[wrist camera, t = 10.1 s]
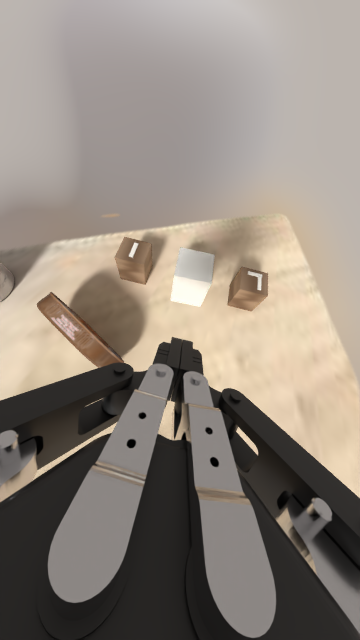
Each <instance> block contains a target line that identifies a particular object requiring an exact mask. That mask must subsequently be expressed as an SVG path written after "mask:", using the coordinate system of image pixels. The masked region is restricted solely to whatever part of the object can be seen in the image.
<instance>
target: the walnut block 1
mask: <svg viewBox="0 0 360 640" xmlns="http://www.w3.org/2000/svg"><path fill="white" fill-rule="evenodd" d="M115 260H116V263H117V267H118V270H119V274H120V277H121V279H124V280H128V281H132V282H137V283H141V284H146V282H147V279H148V276H149V273H150V270H151V267H152V244H151V243H147V242H143V241H139V240H135V239H131V238H127V237H124V239H123V241H122V243H121V245H120V247H119V250H118V252H117V254H116V256H115Z"/></svg>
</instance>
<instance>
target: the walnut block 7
mask: <svg viewBox="0 0 360 640" xmlns="http://www.w3.org/2000/svg"><path fill="white" fill-rule="evenodd" d="M267 296H268V273H264V272H260V271H256V270H252V269H248V268H245V267H241V269H240V270H239V272H238V274H237V275H236V277H235V278H234V280H233V281H232V283H231V284H230V289H229V297H228V306H232V307H236V308H240V309H244V310H248V311H252V310H253V309H254V308H255V307H256V306H258V305H259V304H260V303H261V302H262V301H263V300H264V299H265V298H266V297H267Z"/></svg>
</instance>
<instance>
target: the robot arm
mask: <svg viewBox="0 0 360 640" xmlns="http://www.w3.org/2000/svg"><path fill="white" fill-rule="evenodd" d="M13 286H14V277H13V274H12V273H11V272H10V271H9V270H8V269H7V268H6V267H5V266H4V265H3V264H1V263H0V301H2V300H3V299H4V298H6V297H7V296H8V294H9V293H10V292H11V290H12V289H13ZM171 395H172V396H171ZM170 398H171V401H173V402H175V406H174V409H173V413H172V440H169V439H167V438H165V437H163V436H161V435H159V434H158V430H159V427H160V423H161V419H162V416H163V412H164V408H165V407H166V404H167V401H170ZM99 399H101V400H99ZM97 400H99V401H97ZM95 401H97V402H95ZM93 402H95V403H93ZM91 403H93V404H91ZM89 404H90V405H89ZM87 405H88V406H87ZM85 406H86V407H85ZM116 422H117V424H116V426H115V428H114V430H113V432H112V433H110V434H107V435H104V436H101V437H99V438H97V439H95V440H94V441H92V442H90V443H89V444H87V445H86V446H84V447H83V448H81V449H80V450H78V451H77V452H75V453H74V454H72V455H71V456H69V457H68V458H66V459H65V460H63V461H62V462H60V463H59V464H57V465H56V466H54V467H53V468H51V469H50V470H48V471H47V472H45V473H44V474H42V475H41V476H39V477H38V478H36V479H35V480H33V478H34V476H35V474H36V472H37V470H38V469H40V468H42V467H43V466H45V465H47V464H48V463H50V462H52V461H53V460H55V459H57V458H58V457H60V456H62V455H63V454H65V453H67V452H68V451H70V450H71V449H73V448H75V447H76V446H78V445H80V444H81V443H83V442H85V441H86V440H88V439H90V438H91V437H93V436H95V435H96V434H98V433H100V432H101V431H103V430H104V429H106V428H108V427H109V426H111V425H113V424H114V423H116ZM238 427H239V428H240V429H241V430H242V431H243V432H244V433H245V434H246V435H247V436H248V437H249V438H250V440H251V441H252V442H253V443H254V444H255V445H256V447H257V449H258V455H257V454H256V453H255V452H254V451H253V450H252V449H251V448H250V447H249V446H248V444H247V443H246V442H245V441H244V440H243V439H242V438H241V437H240V436H239V434H238V433H237V432H236V430H237V428H238ZM32 480H33V481H32ZM31 481H32V482H31ZM0 640H360V498H359V497H358V496H356V495H355V494H354V493H353V492H352V491H351V490H350V489H349V488H347V487H346V486H345V485H344V484H343V483H342V482H341V481H340V480H339V479H337V478H336V477H335V476H334V475H333V474H332V473H331V472H330V471H328V470H327V469H326V468H325V467H324V466H323V465H322V464H321V463H319V462H318V461H317V460H316V459H315V458H314V457H313V456H312V455H310V454H309V453H308V452H307V451H306V450H305V449H304V448H303V447H301V446H300V445H299V444H298V443H297V442H296V441H295V440H294V439H292V438H291V437H290V436H289V435H288V434H287V433H286V432H285V431H283V430H282V429H281V428H280V427H279V426H278V425H277V424H276V423H274V422H273V421H272V420H271V419H270V418H269V417H268V416H267V415H265V414H264V413H263V412H262V411H261V410H260V409H259V408H258V407H256V406H255V405H254V404H253V403H252V402H251V401H250V400H249V399H248V398H246V397H245V396H244V395H243V394H242V393H240V392H239V391H237V390H235V389H231V388H227V389H224V390H223V391H222V393H221V392H219V391H217V390H215V389H213V388H211V387H210V386H209V385H208V381H207V379H206V378H205V377H204V376H203V365H202V355H201V353H200V352H199V351H198V350H195V349H193V342H191V341H187V340H182V339H178V338H174V337H172V340H171V344H170V343H166V342H163V343H161V344H160V345H159V347H158V350H157V353H156V356H155V359H154V362H153V365H151V366H150V367H149V369H148V370H146V371H143V372H134V371H133V368H132V367H131V366H130V365H128V364H126V363H120V362H118V363H112V364H109V365H106V366H103V367H100V368H97V369H94V370H91V371H88V372H85V373H82V374H79V375H76V376H73V377H70V378H67V379H64V380H61V381H58V382H55V383H52V384H49V385H46V386H43V387H40V388H37V389H34V390H31V391H28V392H25V393H22V394H19V395H16V396H13V397H10V398H7V399H4V400H1V401H0Z"/></svg>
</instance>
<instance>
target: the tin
mask: <svg viewBox="0 0 360 640" xmlns="http://www.w3.org/2000/svg"><path fill="white" fill-rule="evenodd" d="M37 307H38V309H39V310H40V311H41V312H42V313H43V315H44V316H45V317H46V318H47V319H48V320H49V321H50V322H51V323H52V324H53V325H54V326H55V327H56V328H57V329H58V330H59V331H60V332H61V333H62V334H63V335H64V336H65V337H66V338H67V339H68V340H69V341H70V342H71V343H72V344H73V345H74V346H75V347H76V348H77V349H78V350H79V351H80V352H81V353H82V354H83V355H84V356H85V357H86V358H87V359H88V360H89V361H91V362H92V363H93V364H94V365H96V366H97V367H99V368H100V367H103V366H106V365H109V364H112V363H118V362H120V363H124V361H123V360H122V358H121V357H120V356H119V355H118V354H117V353H116V352H115V351H114V350H113V349H112V348H111V347H110V346H109V345H108V344H107V343H106V342H105V341H104V340H103V339H102V338H101V337H100V336H99V335H98V334H97V333H96V332H95V331H94V330H93V329H92V328H91V327H90V326H89V325H87V324H86V323H85V322H84V321H83V320H82V319H81V318H80V317H79V316H78V315H77V314H76V313H75V312H74V311H73V310H72V309H70V308H69V307H68V306H67V305H66V304H65V303H64V302H62V301H61V300H60V299H59V298H58V297H57V296H56V295H54V294H53V293H52V292H50V294H49V295H47V296H46V297H45V298H43V299H42V300H41V301H39V302H38V303H37Z"/></svg>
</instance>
